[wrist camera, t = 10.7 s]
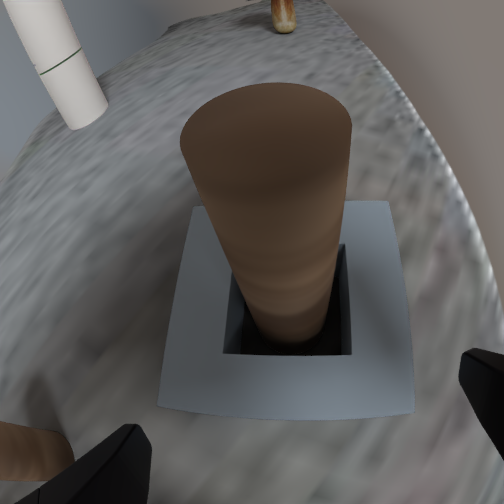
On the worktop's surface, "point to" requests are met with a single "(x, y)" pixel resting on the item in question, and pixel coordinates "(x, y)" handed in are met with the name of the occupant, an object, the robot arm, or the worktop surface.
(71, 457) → the short walnut pin
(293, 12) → the decorative mushroom
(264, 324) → the tall walnut pin
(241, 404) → the sleeve block
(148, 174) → the worktop surface
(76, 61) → the cylindrical container
